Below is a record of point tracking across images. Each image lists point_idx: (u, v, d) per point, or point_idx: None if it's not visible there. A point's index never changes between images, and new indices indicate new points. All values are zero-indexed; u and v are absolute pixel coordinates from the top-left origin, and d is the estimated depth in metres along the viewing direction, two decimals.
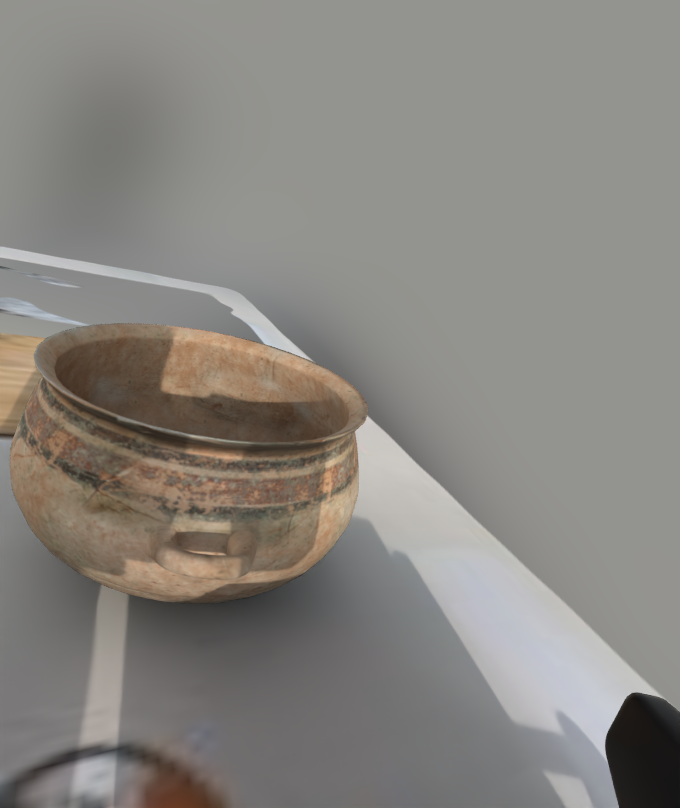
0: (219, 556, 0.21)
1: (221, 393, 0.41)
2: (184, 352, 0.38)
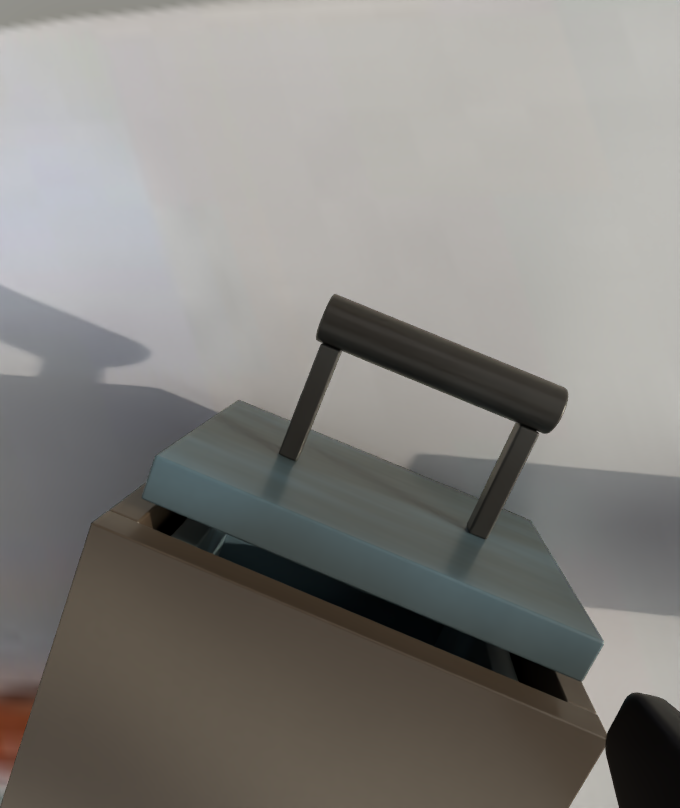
0: None
1: None
2: None
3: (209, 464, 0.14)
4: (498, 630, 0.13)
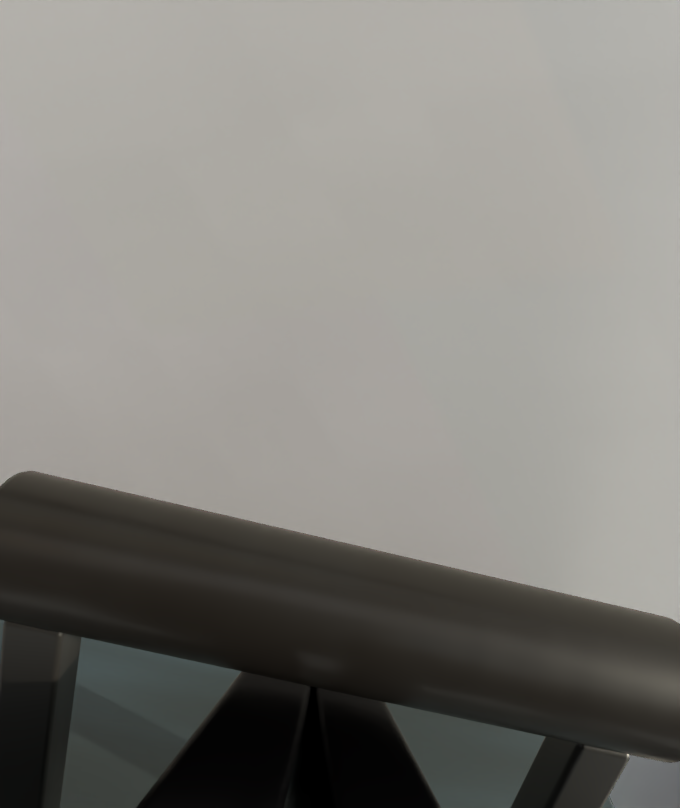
0: None
1: None
2: None
3: None
4: None
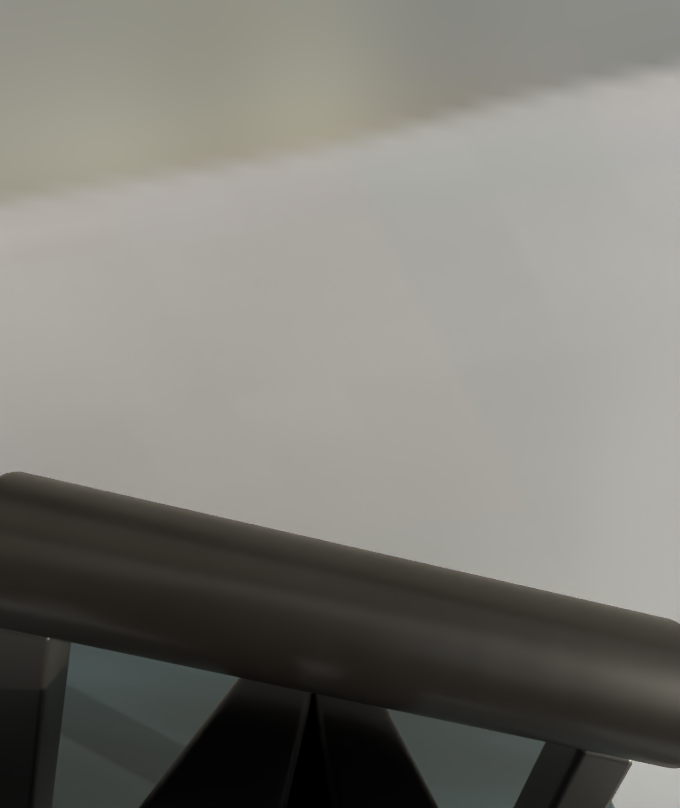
0: None
1: None
2: None
3: None
4: None
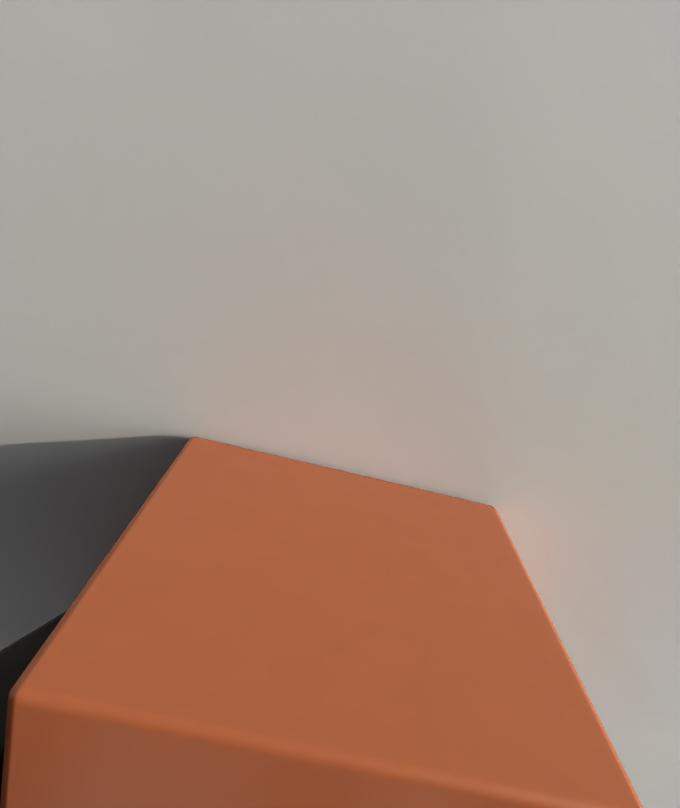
0: None
1: None
2: None
3: None
4: None
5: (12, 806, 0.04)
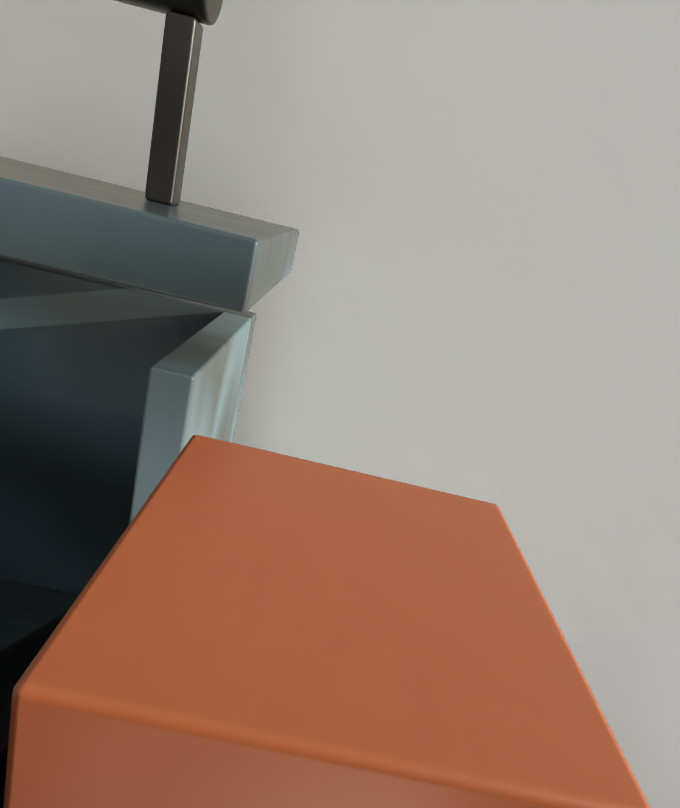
0: None
1: None
2: None
3: None
4: (103, 252, 0.09)
5: (16, 803, 0.04)
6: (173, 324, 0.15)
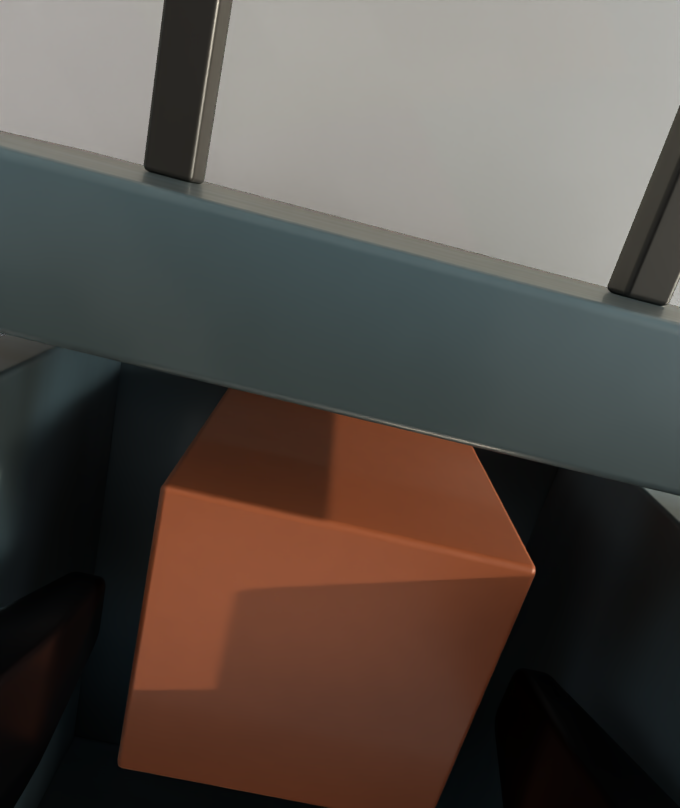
0: None
1: None
2: None
3: None
4: None
5: (157, 564, 0.07)
6: None
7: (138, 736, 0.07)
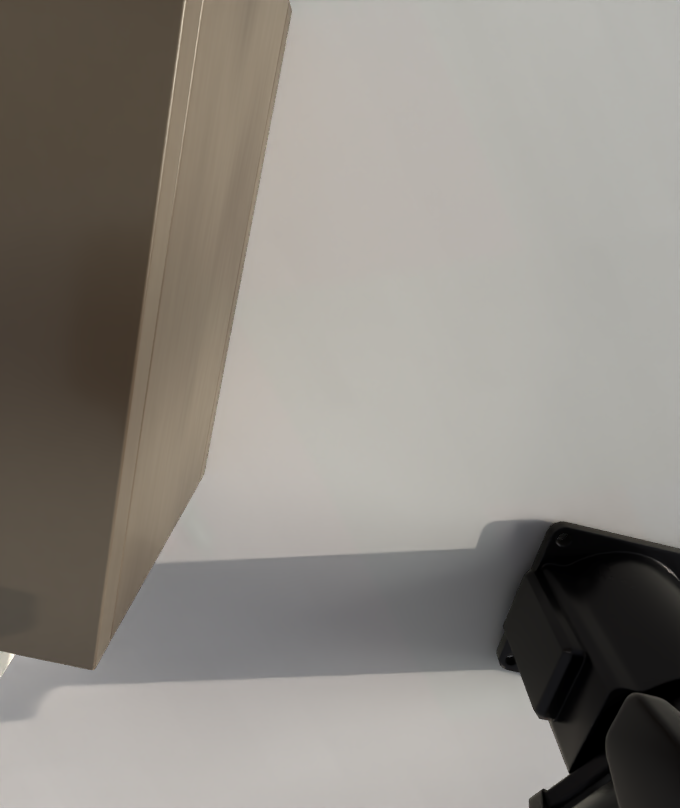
0: None
1: None
2: None
3: None
4: None
5: None
6: None
7: None
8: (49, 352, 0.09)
